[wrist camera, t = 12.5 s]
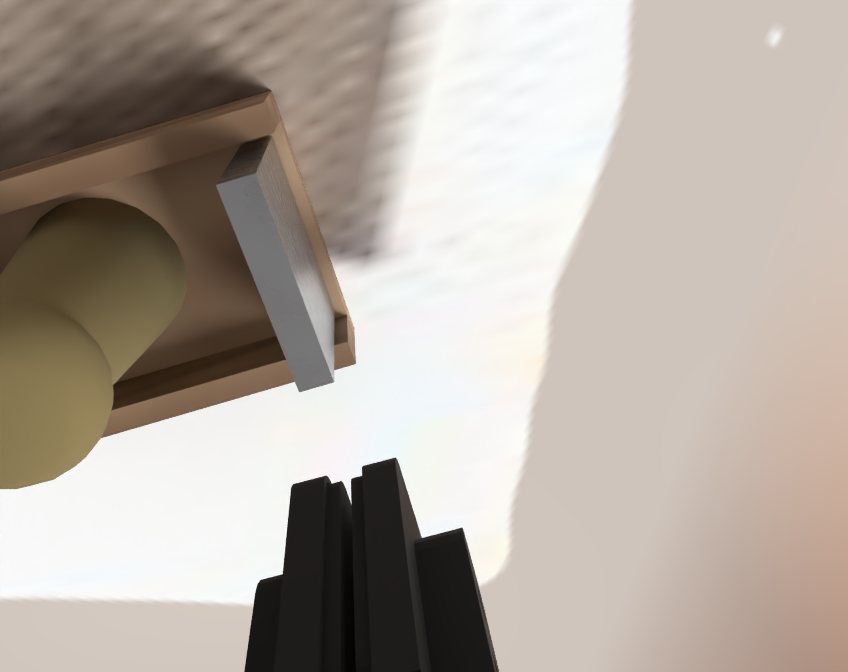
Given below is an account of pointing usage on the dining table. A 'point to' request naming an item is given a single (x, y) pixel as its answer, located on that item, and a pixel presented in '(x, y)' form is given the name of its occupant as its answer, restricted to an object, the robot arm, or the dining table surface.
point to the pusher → (281, 260)
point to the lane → (184, 254)
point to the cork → (77, 329)
